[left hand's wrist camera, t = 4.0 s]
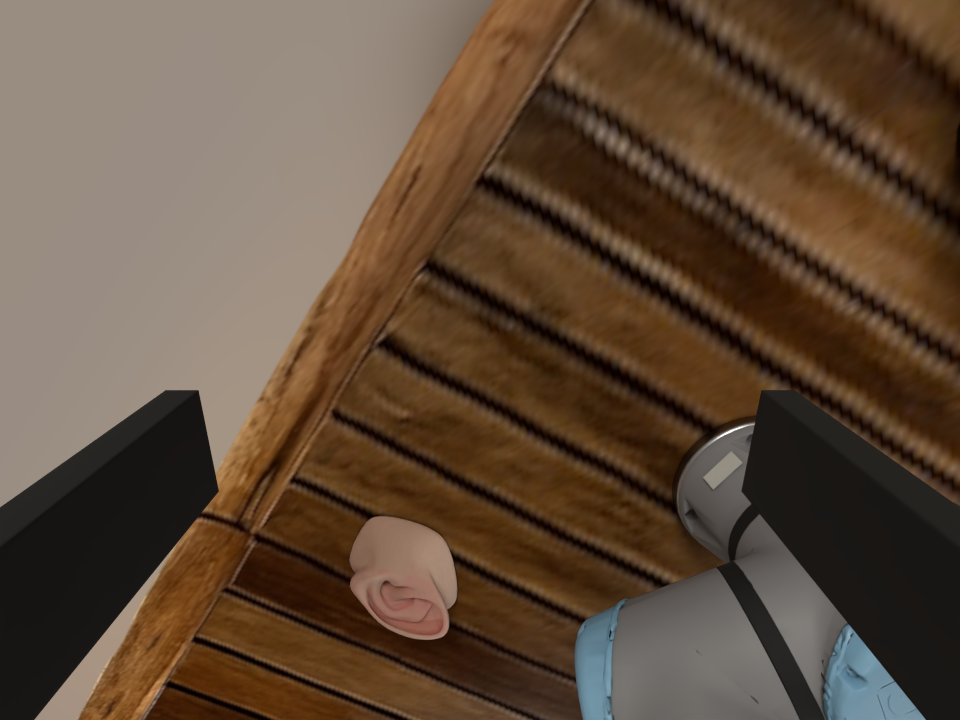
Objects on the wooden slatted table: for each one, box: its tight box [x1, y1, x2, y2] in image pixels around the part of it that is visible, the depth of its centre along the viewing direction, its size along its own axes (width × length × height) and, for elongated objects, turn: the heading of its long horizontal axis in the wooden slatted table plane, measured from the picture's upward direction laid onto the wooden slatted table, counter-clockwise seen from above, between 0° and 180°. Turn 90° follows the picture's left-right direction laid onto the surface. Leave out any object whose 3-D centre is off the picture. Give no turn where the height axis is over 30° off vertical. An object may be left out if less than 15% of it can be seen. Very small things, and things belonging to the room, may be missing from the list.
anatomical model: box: [350, 516, 457, 640], centre depth 55 cm, size 13×4×12 cm
